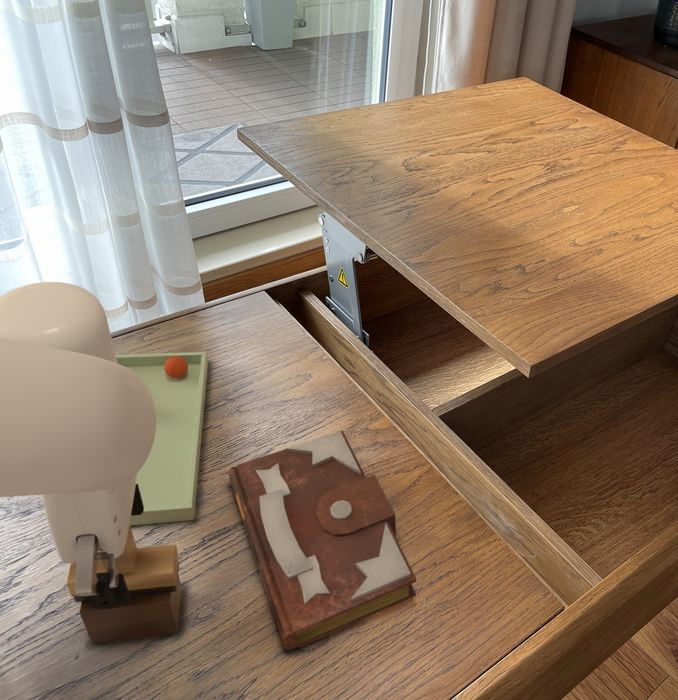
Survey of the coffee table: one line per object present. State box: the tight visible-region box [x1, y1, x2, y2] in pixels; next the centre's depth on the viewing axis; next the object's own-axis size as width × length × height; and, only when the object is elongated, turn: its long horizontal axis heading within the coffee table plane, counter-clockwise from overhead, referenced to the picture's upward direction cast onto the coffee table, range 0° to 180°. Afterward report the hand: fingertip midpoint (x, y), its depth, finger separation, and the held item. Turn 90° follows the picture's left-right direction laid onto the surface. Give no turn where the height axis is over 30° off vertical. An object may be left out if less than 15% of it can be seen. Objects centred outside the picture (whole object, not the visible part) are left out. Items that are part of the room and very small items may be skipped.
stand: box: [79, 574, 183, 644], centre depth 72 cm, size 5×8×6 cm, turn 102°
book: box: [227, 430, 417, 651], centre depth 82 cm, size 23×16×5 cm
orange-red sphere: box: [164, 357, 188, 378], centre depth 99 cm, size 3×3×3 cm
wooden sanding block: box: [65, 523, 180, 603], centre depth 67 cm, size 3×9×10 cm, turn 102°
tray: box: [116, 351, 209, 527], centre depth 91 cm, size 27×13×2 cm, turn 12°
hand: (119, 556), depth 67 cm, fingers open, 9 cm apart
